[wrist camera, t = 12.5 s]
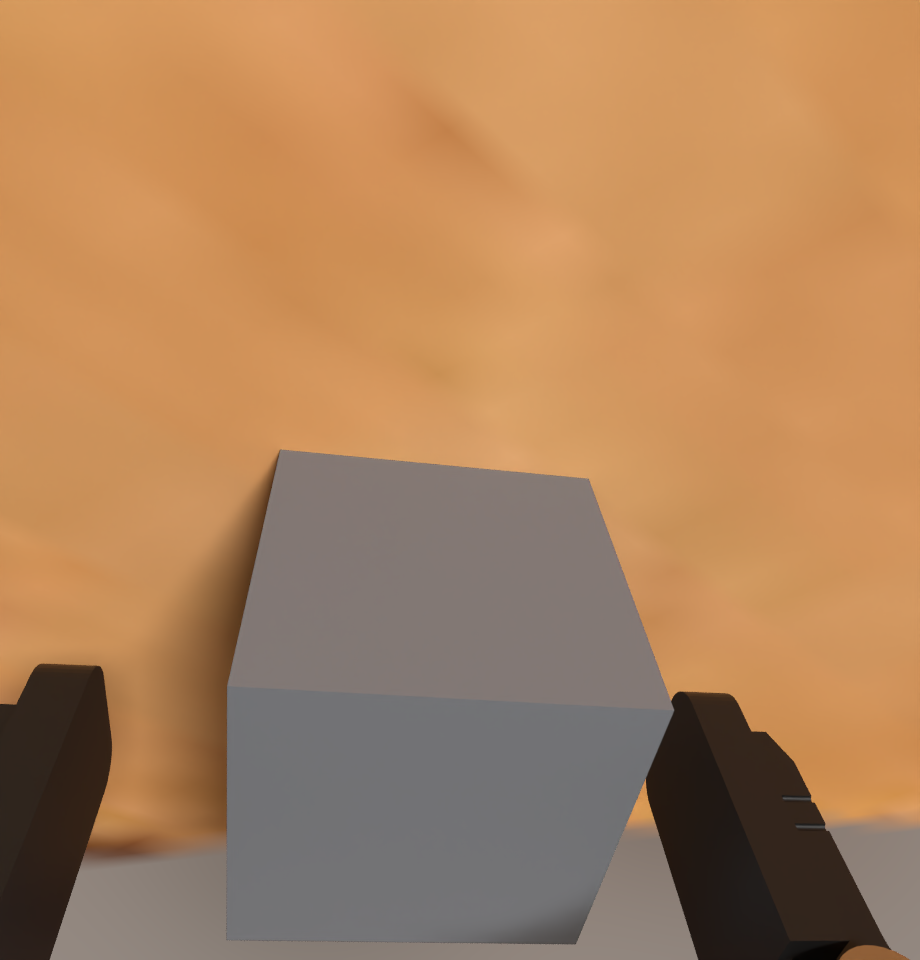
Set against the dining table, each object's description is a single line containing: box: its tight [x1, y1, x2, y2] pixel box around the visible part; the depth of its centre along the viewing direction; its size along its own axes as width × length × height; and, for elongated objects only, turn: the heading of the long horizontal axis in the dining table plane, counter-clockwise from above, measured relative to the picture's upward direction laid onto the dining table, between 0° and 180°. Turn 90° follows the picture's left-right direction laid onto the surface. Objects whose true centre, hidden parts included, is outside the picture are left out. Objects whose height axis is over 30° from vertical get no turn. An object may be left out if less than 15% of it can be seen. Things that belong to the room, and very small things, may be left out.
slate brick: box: [227, 450, 674, 944], centre depth 12 cm, size 5×5×5 cm
